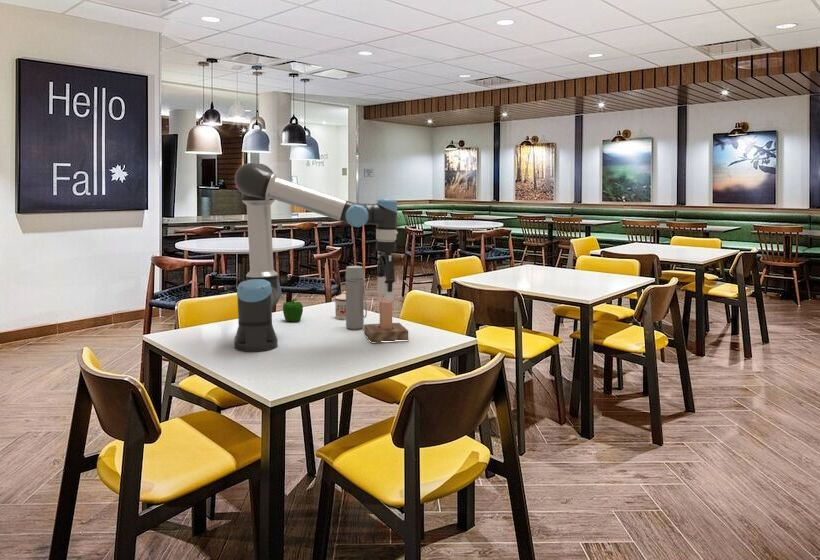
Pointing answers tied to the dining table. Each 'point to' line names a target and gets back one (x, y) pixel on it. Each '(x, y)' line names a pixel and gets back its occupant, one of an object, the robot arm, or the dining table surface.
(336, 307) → the teacup with lid
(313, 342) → the dining table surface
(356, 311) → the water bottle
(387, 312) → the peg
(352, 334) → the dining table surface
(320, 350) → the dining table surface
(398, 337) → the socket block
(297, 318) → the bell pepper
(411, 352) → the dining table surface
